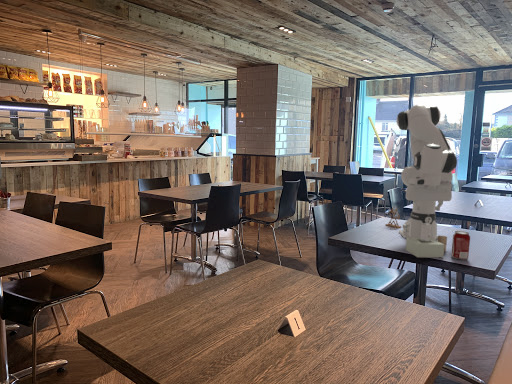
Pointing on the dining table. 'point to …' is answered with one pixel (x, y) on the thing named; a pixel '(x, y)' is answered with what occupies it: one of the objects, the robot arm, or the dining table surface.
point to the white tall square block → (425, 233)
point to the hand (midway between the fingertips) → (427, 210)
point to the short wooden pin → (443, 241)
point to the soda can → (460, 245)
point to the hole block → (424, 248)
